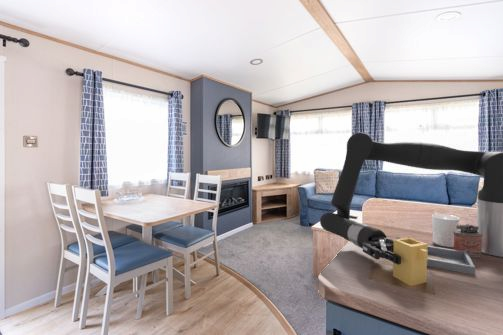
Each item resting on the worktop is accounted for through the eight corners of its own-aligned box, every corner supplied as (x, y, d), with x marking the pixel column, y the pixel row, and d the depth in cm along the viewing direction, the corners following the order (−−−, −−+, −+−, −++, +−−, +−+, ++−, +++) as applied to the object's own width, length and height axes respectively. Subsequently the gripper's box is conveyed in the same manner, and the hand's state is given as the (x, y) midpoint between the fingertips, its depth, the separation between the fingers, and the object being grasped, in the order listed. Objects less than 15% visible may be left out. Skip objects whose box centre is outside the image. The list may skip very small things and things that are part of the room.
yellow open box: (393, 275, 66) (393, 239, 65) (407, 272, 67) (408, 237, 66) (417, 289, 59) (418, 249, 58) (432, 285, 61) (433, 246, 60)
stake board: (431, 277, 66) (432, 240, 66) (434, 298, 57) (436, 255, 56) (373, 265, 74) (374, 231, 73) (368, 282, 65) (369, 244, 64)
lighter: (476, 252, 81) (477, 223, 80) (484, 257, 78) (486, 226, 77) (450, 252, 82) (451, 222, 81) (457, 256, 78) (458, 226, 78)
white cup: (433, 238, 95) (434, 212, 94) (459, 243, 89) (460, 216, 88) (429, 243, 89) (429, 217, 88) (457, 249, 84) (458, 221, 83)
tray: (466, 261, 75) (466, 251, 75) (474, 278, 65) (475, 267, 65) (420, 253, 81) (420, 244, 81) (422, 267, 72) (422, 257, 71)
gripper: (347, 228, 76) (391, 247, 60) (383, 223, 80) (434, 240, 64) (347, 251, 76) (391, 277, 61) (383, 245, 80) (433, 267, 65)
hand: (413, 258), depth 63 cm, fingers open, 8 cm apart
